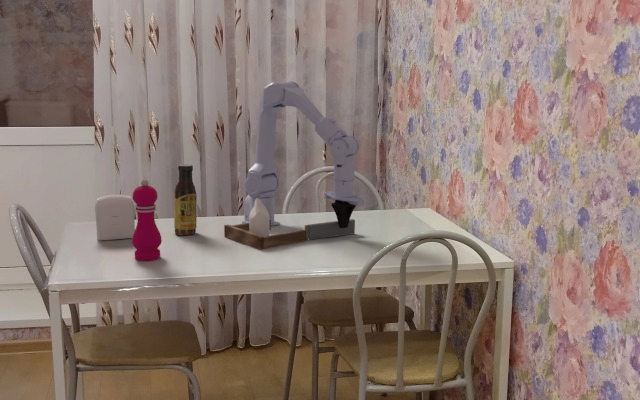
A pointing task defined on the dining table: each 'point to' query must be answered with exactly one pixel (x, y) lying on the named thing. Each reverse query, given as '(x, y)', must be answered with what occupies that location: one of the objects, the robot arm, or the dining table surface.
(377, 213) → the dining table surface
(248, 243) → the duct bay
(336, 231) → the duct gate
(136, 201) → the pepper mill
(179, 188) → the sauce bottle
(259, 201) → the beige pointed upright block
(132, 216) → the photo printer
